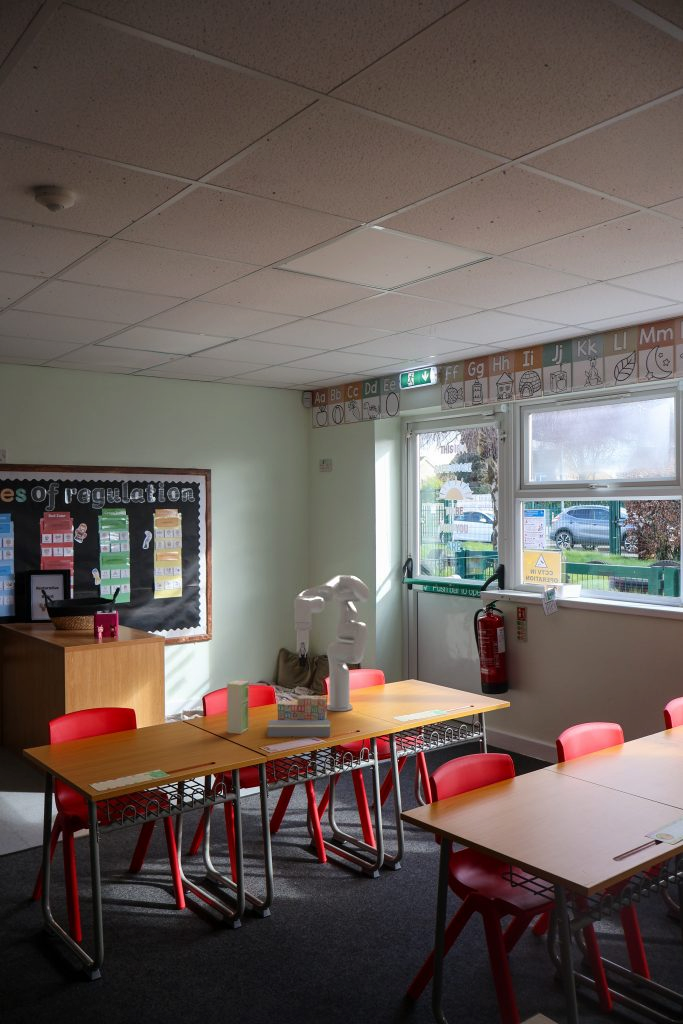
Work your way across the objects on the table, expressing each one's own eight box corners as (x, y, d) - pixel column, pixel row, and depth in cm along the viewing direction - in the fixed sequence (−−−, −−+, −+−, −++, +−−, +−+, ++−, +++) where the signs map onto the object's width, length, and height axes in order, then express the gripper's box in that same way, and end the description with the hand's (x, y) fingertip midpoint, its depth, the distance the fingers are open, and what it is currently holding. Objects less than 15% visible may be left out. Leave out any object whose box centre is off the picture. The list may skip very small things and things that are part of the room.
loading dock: (269, 729, 368) (269, 719, 368) (330, 729, 368) (330, 719, 368) (267, 736, 356) (267, 726, 356) (329, 736, 356) (329, 726, 356)
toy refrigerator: (242, 734, 360) (242, 684, 360) (226, 733, 362) (226, 683, 362) (250, 729, 367) (250, 681, 368) (235, 728, 370) (235, 680, 370)
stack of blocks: (277, 725, 376) (277, 697, 376) (280, 721, 382) (280, 694, 382) (324, 727, 372) (324, 698, 372) (327, 723, 379) (327, 695, 379)
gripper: (295, 623, 387) (295, 661, 387) (293, 628, 369) (293, 668, 369) (312, 623, 387) (312, 661, 387) (311, 628, 369) (311, 668, 369)
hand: (303, 664), depth 378 cm, fingers open, 9 cm apart
